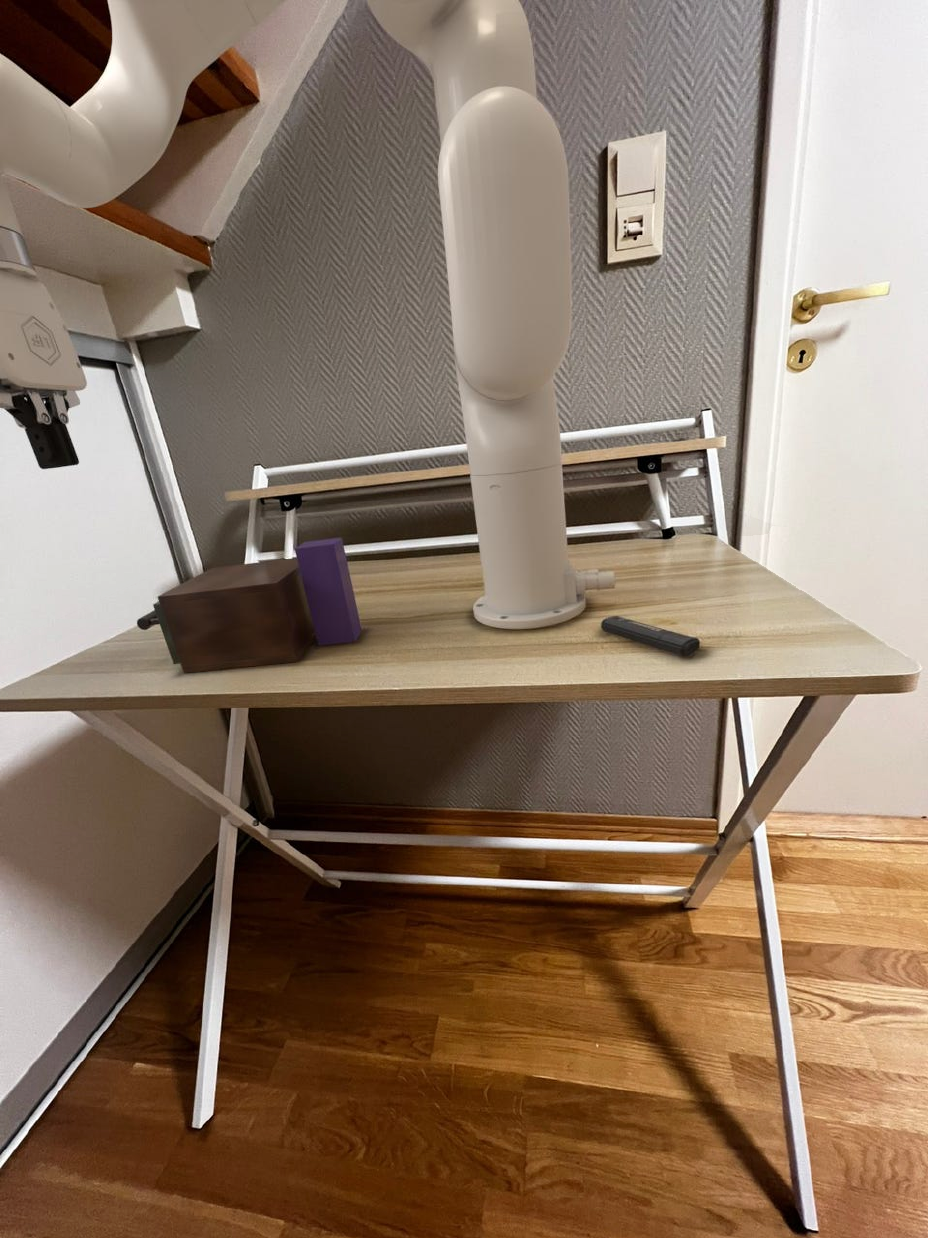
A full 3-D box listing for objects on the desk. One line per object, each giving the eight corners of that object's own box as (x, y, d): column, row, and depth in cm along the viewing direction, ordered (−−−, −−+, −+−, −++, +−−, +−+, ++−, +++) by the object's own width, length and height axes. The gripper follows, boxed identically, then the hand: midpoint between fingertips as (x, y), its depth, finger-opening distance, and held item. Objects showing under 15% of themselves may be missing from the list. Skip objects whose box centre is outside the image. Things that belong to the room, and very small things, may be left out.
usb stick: (703, 651, 45) (704, 634, 45) (684, 661, 44) (684, 644, 44) (617, 626, 53) (616, 611, 52) (598, 634, 52) (597, 619, 51)
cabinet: (183, 673, 57) (157, 596, 54) (232, 634, 67) (211, 567, 64) (297, 661, 55) (276, 582, 52) (329, 623, 66) (313, 555, 63)
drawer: (139, 667, 57) (117, 608, 55) (189, 633, 67) (171, 581, 64) (276, 653, 56) (259, 592, 54) (307, 620, 65) (294, 566, 63)
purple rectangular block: (362, 631, 62) (341, 537, 58) (355, 642, 59) (333, 543, 55) (326, 635, 62) (304, 541, 58) (318, 646, 59) (294, 548, 55)
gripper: (-60, 226, 42) (35, 468, 48) (79, 274, 56) (139, 457, 62) (-145, 243, 42) (-40, 479, 49) (14, 286, 56) (79, 465, 63)
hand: (60, 466), depth 55 cm, fingers closed
